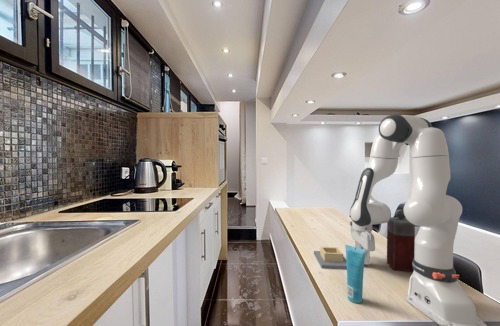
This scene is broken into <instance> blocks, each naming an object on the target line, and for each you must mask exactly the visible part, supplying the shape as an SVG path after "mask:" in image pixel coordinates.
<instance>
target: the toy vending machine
mask: <svg viewBox="0 0 500 326" xmlns="http://www.w3.org/2000/svg"><path fill="white" fill-rule="evenodd" d="M394 216H395V217H392V216H391V218H390V220H389V221H388V222H387V223H386V225H387V226H386V264H388V266H389V268H391V269H392V270H393V271H397V272H404V273H405V272H406V273H413V271H414V269H413V258H414V247H415V237H416V225H414V224H412V223H410V222H409V221H408V220H407V219H406V217H405V215H404V211H403V209H397V210H395V211H394Z"/></svg>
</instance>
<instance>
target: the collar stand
mask: <svg viewBox="0 0 500 326" xmlns="http://www.w3.org/2000/svg"><path fill="white" fill-rule="evenodd" d="M319 249H320V250H314V251H313V255H314V257H315V258H316V261H317V262H318V264H319V265H320V266H319V267H320V268H321V269H332V270H333V269H336V270H347V260H346V257H344V253H343V252H342V251H341V250H340V249H339V247H333V246H320V248H319Z"/></svg>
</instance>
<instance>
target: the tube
mask: <svg viewBox="0 0 500 326" xmlns="http://www.w3.org/2000/svg"><path fill="white" fill-rule="evenodd" d="M344 248H345V259H346V260H347V269H346V280H347V281H346V283H347V285H346V287H347V288H346V289H347V299H348V300H349V302H350V303H351V302H352V303H355V304H361V303H362V302H363V290H364V289H363V288H364V271H365V264H364V260H365V254H366V250H363V249H359V248H356V247H355V246H352V245H349V244H345V247H344Z"/></svg>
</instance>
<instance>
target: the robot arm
mask: <svg viewBox="0 0 500 326" xmlns="http://www.w3.org/2000/svg"><path fill="white" fill-rule="evenodd" d="M404 145H405V146H409V147H410V157H411V171H412V172H411V173H412V175H411V176H412V178H411V179H412V181H411V186H410V192H409V195H408V199H407V201H406V202H405V204H404V206H403V209H402V210H403V211H404V215H405V218H406V219H407V220H408V221H409V222H410V223H412V224H414V225H415V227H416V226H417V227H419V228H418V231H417V234H415V247H414V258H413V269H414V271H413V272H412V274H411V275H410V277H409V282H408V291H407V294H406V295H405V296H404V300H405V301H406V302H407V303H409V304H410V305H412V306H413V307H414V308H416V309H417V310H419V311H420V312H421V313H422V314H424V315H425V316H426V317H428V318H429V319H431V320H432V321H433V322H434V323H436V324H437V325H439V326H488V325H487V324H486V323H485V321H483V320H482V319H480V317H479V316H478V315H477V309H476V305H475V303H474V300H473V297H471V295H468V294H467V292H466V291H465V289H464V288H463V287H462V285H461V284H460V283H459V282H458V280H459V279H460V274H457V272H456V269H455V267H454V243H455V238H456V235H457V231H458V225H459V221H460V217H461V216H462V214H463V205H462V204H461V202H460V201H459V200H458V199H457V198H455V197H454V196H451V195H448V194H447V189H448V185H449V183H450V181H451V166H450V153H449V147H448V142H447V139H446V136H445V133H444V131H443V130H442V129H440V128H437V127H433V125H432V123H431V121H429V120H428V119H426V118H423V117H417V116H413V115H411V114H410V115H407V114H390V115H387V116H385V117H384V118H383V119H382V120H381V121H380V123H379V124H378V134H376V135H375V136H374V138H373V140H372V145H371V148H370V155H369V161H368V163H367V165H366V167H365V168H364V170H363V171H362V172H361V174H360V178H359V180H358V184H357V188H356V192H355V195H354V197H353V199H352V205H351V207H350V209H349V217H350V219H351V220H350V221H349V225H350V236H351V239H352V240H353V241H355V240H357V241H358V242H359V243H360V244H361V246H362V247H363V250H366V254H365V257H367V256H368V251H370V252H374V251H376V240H375V236H374V234H373V233H372V232H373V225H380V224H387V222H388V221H389V220H390V218H391V217H392V212H391V209H390V207H389V206H388V205H387V204H386V203H384V202H381V201H379V200H377V199H375V198H374V197H373V195H372V192H373V189H374V187H375V186H376V184H377V183H378V182H380V181H383V180H384V179H386V178H389V177H391V175H392V176H393V174H394V173H395V172H396V170H397V168H398V163H399V155H400V149H401V147H403V146H404Z"/></svg>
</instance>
